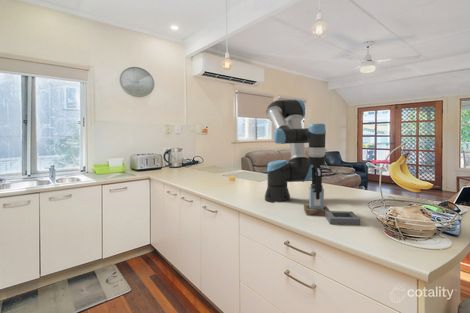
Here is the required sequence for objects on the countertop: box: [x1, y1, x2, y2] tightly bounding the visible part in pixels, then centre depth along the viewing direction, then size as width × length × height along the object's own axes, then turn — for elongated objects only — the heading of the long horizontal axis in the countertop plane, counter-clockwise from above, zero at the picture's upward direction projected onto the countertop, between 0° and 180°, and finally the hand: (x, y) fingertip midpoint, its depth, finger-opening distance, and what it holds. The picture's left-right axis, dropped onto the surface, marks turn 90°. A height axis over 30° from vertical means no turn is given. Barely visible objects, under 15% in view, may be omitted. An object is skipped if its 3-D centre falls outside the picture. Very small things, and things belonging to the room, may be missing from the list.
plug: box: [308, 183, 325, 209], centre depth 118 cm, size 6×4×14 cm, turn 82°
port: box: [324, 210, 361, 226], centre depth 107 cm, size 12×10×3 cm
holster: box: [303, 204, 331, 217], centre depth 118 cm, size 10×8×3 cm
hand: (316, 203), depth 118 cm, fingers closed on plug, 4 cm apart
